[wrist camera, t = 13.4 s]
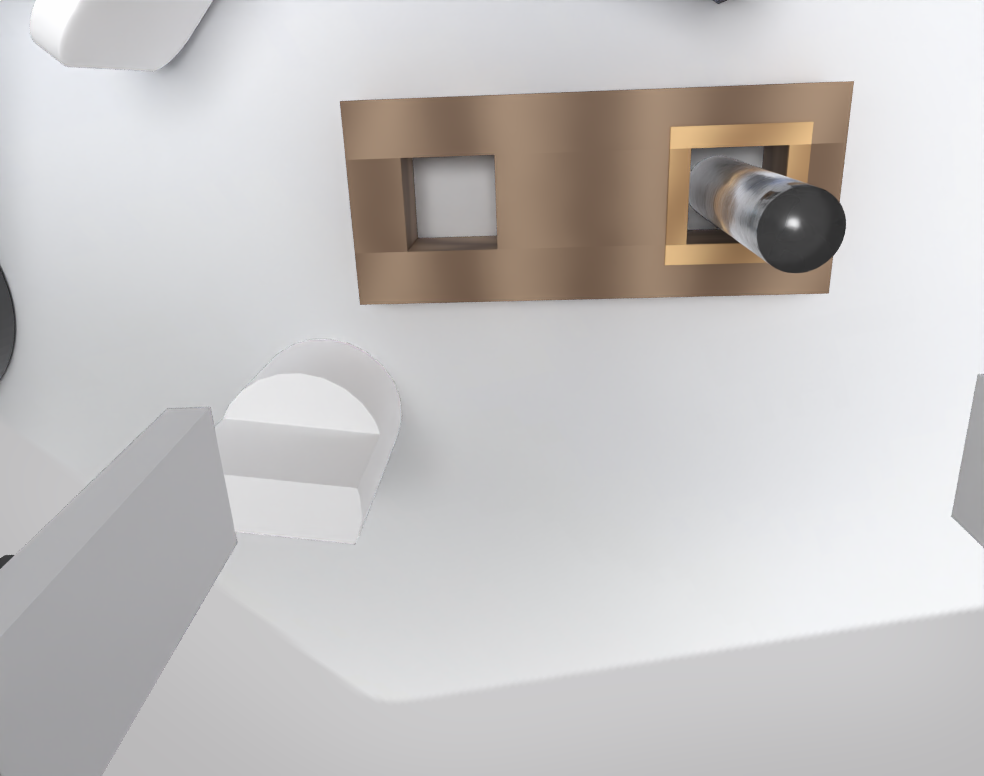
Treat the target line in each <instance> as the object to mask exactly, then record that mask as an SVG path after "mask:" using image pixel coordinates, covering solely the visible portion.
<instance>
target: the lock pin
mask: <svg viewBox="0 0 984 776" xmlns="http://www.w3.org/2000/svg"><path fill="white" fill-rule="evenodd" d="M689 203H690V205H691V206H692V208H693V209H694V210H695V211H697V212H698V213H699V214H701V215H702V216H704V217H705V218H706V219H708V220H709V221H710V222H712V223H713V224H715V225H716V226H717V227H719V228H720V229H721V230H723V231H724V232H726V233H727V234H728V235H730V236H731V237H733V238H734V239H735V240H737V241H738V242H739V243H741V244H742V245H744V246H745V247H746V248H748V249H749V250H750V251H752V252H753V253H755V254H756V255H757V256H759V257H760V258H761V259H763V260H764V261H766V262H767V263H768V264H770V265H771V266H773V267H774V268H776V269H778V270H780V271H783V272H787V273H804V272H809V271H811V270H814V269H816V268H818V267H820V266H822V265H823V264H825V263H826V262H827V261H828V260H830V259H831V258H832V257H833V255H834V254H835V253H836V252H837V250H838V249H839V247H840V245H841V243H842V241H843V238H844V235H845V229H846V219H845V214H844V211H843V208H842V206H841V204H840V202H839V201H838V200H837V199H836V197H834V196H833V195H832V194H831V193H829V192H828V191H826V190H824V189H822V188H819V187H816V186H813V185H810V184H807V183H804V182H801V181H798V180H795V179H792V178H789V177H786V176H783V175H780V174H777V173H774V172H771V171H768V170H765V169H762V168H759V167H756V166H753V165H750V164H747V163H744V162H741V161H739V160H736V159H733V158H730V157H726V156H711V157H708V158H706V159H704V160H702V161H701V162H699V163H698V164H697V165H696V166H695V167H694V168H693V169H692V171H691V172H690V182H689Z"/></svg>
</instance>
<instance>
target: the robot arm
mask: <svg viewBox="0 0 984 776" xmlns="http://www.w3.org/2000/svg"><path fill="white" fill-rule="evenodd" d="M13 343H14V313H13V307H12V302H11V298H10V294H9V291H8V287H7V285H6V282H5V279H4V277H3V275H2V272H1V270H0V379H1V377H2V376H3V374H4V372H5V370H6V368H7V366H8V363H9V360H10V357H11V353H12V349H13ZM951 517H952V518H953V519H954V520H956V521H957V522H958V523H959V524H960V525H961V526H962V527H963V528H964V529H965V530H966V531H967V532H968V533H969V534H970V535H971V536H972V537H973V538H974V539H975V540H976V541H977V542H978V543H979V544H980V545H981V546H983V547H984V374H978V376H977V381H976V386H975V392H974V397H973V402H972V408H971V413H970V419H969V424H968V429H967V435H966V440H965V446H964V451H963V456H962V462H961V467H960V472H959V478H958V483H957V489H956V494H955V499H954V505H953V510H952V516H951ZM236 544H237V539H236V534H235V529H234V524H233V519H232V513H231V508H230V503H229V498H228V493H227V488H226V483H225V478H224V473H223V468H222V463H221V458H220V453H219V448H218V442H217V437H216V432H215V427H214V422H213V417H212V412H211V407H195V408H171V409H166V410H165V411H164V412H163V413H162V414H161V415H160V416H159V417H158V418H157V419H156V420H155V421H154V422H153V423H152V424H151V425H150V426H149V427H148V428H147V429H145V430H144V431H143V432H142V433H141V434H140V435H139V436H138V437H137V438H136V439H135V440H134V441H133V442H132V443H131V444H130V445H129V446H128V447H127V448H126V449H125V450H124V451H123V452H122V453H121V454H119V455H118V456H117V457H116V458H115V459H114V460H113V461H112V462H111V463H110V464H109V465H108V466H107V467H106V468H105V469H104V470H103V471H102V472H101V473H100V474H99V475H98V476H97V477H96V478H95V479H93V480H92V481H91V482H90V483H89V484H88V485H87V486H86V487H85V488H84V489H83V490H82V491H81V492H80V493H79V494H78V495H77V496H76V497H75V498H74V499H73V500H72V501H71V502H70V503H69V504H67V506H65V507H64V508H63V509H62V510H61V511H60V512H59V513H58V514H57V515H56V516H55V517H54V518H53V519H52V520H51V521H50V522H49V523H48V524H47V525H46V526H45V527H44V528H43V529H41V530H40V531H39V532H38V533H37V534H36V535H35V536H34V537H33V538H32V539H31V540H30V541H29V542H28V543H27V544H26V545H25V546H24V547H23V548H22V549H21V550H20V551H19V552H18V553H16V554H15V555H5V556H3V557H2V558H0V776H102V774H103V773H104V771H105V769H106V768H107V766H108V764H109V762H110V761H111V759H112V757H113V755H114V754H115V752H116V750H117V749H118V747H119V745H120V744H121V742H122V740H123V738H124V737H125V735H126V733H127V731H128V730H129V728H130V726H131V724H132V723H133V721H134V719H135V718H136V716H137V714H138V712H139V711H140V709H141V707H142V706H143V704H144V702H145V701H146V699H147V697H148V695H149V694H150V692H151V690H152V688H153V687H154V685H155V683H156V682H157V680H158V678H159V677H160V675H161V673H162V671H163V670H164V668H165V666H166V664H167V663H168V661H169V659H170V658H171V656H172V654H173V652H174V650H175V649H176V647H177V646H178V644H179V642H180V640H181V639H182V637H183V635H184V633H185V632H186V630H187V628H188V627H189V625H190V623H191V621H192V620H193V618H194V616H195V615H196V613H197V611H198V609H199V608H200V606H201V604H202V603H203V601H204V599H205V597H206V596H207V594H208V592H209V591H210V589H211V587H212V585H213V584H214V582H215V580H216V579H217V577H218V575H219V573H220V572H221V570H222V568H223V567H224V565H225V563H226V561H227V560H228V558H229V556H230V555H231V553H232V551H233V549H234V548H235V546H236Z"/></svg>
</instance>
